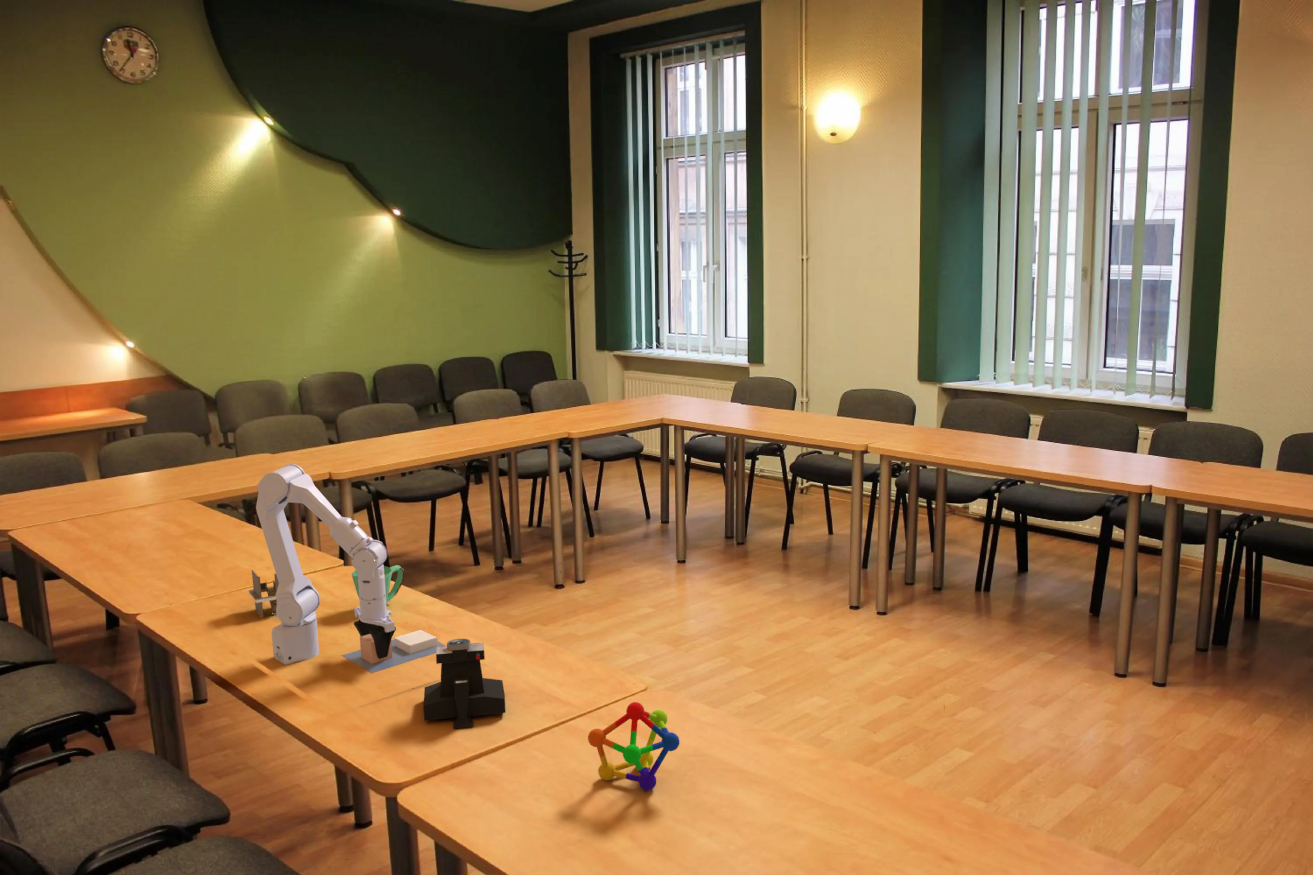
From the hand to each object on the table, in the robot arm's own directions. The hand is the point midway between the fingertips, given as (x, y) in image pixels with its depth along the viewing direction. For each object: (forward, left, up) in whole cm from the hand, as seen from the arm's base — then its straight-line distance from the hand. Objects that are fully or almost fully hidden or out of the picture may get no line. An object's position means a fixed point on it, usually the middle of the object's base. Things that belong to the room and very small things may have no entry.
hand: (376, 653), depth 245 cm
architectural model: (-4, +49, -2) cm, 49 cm away
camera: (0, -36, -2) cm, 36 cm away
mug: (+19, +32, -2) cm, 37 cm away
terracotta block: (0, 0, -1) cm, 1 cm away
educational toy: (+6, -82, -2) cm, 82 cm away
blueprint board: (+5, 0, -2) cm, 5 cm away
